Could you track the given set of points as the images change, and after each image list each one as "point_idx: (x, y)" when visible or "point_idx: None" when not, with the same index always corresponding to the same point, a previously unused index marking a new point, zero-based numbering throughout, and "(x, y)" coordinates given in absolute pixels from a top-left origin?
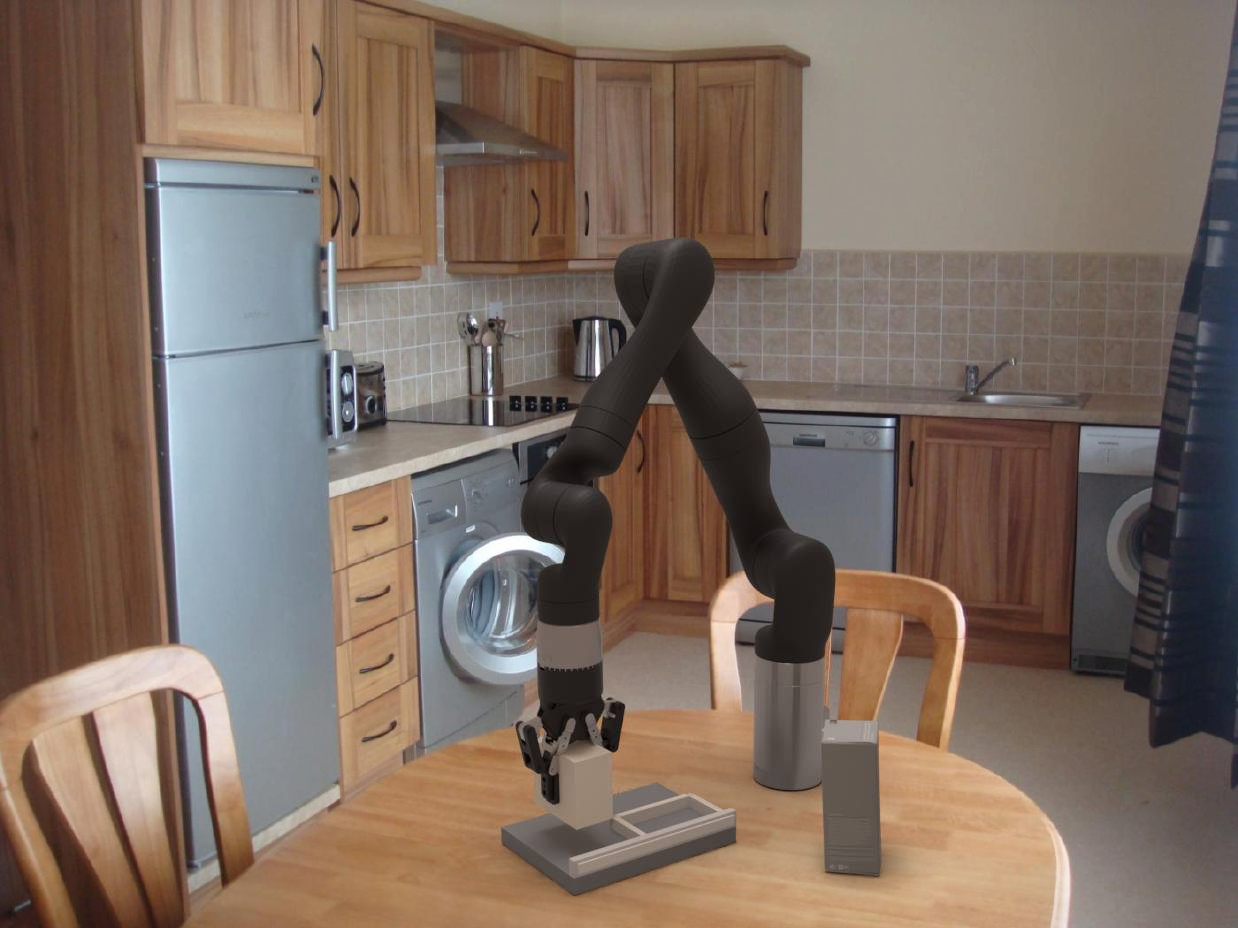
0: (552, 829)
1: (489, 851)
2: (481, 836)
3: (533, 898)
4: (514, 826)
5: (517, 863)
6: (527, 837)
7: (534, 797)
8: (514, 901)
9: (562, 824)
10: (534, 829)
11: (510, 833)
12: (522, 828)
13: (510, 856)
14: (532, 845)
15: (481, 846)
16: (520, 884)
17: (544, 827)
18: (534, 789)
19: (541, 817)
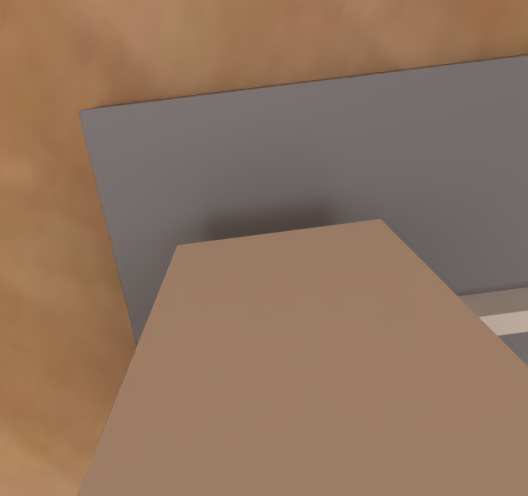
0: (254, 222)
1: (39, 149)
2: (40, 12)
3: (85, 446)
4: (131, 132)
5: (104, 267)
6: (146, 240)
7: (173, 255)
8: (34, 441)
9: (304, 202)
10: (194, 192)
11: (96, 183)
12: (155, 162)
13: (98, 215)
14: (141, 301)
15: (21, 97)
16: (74, 376)
17: (234, 195)
18: (167, 274)
19: (262, 104)
